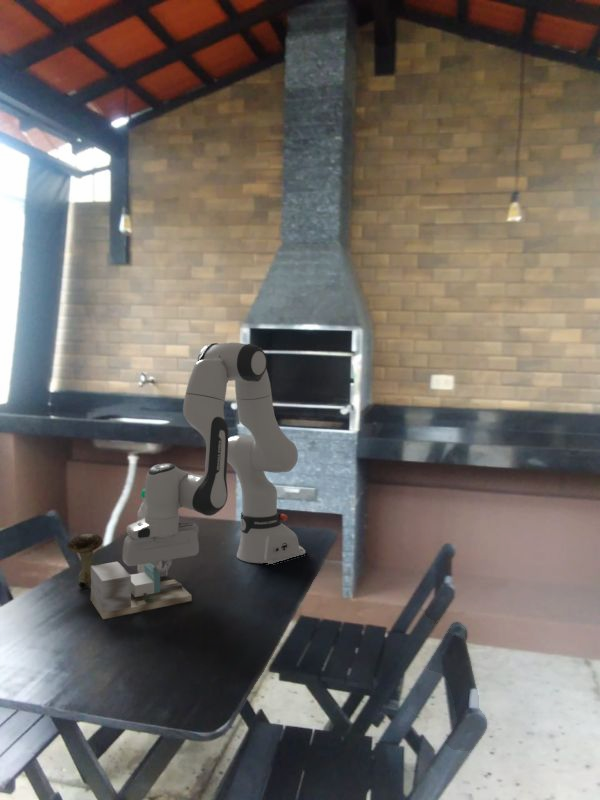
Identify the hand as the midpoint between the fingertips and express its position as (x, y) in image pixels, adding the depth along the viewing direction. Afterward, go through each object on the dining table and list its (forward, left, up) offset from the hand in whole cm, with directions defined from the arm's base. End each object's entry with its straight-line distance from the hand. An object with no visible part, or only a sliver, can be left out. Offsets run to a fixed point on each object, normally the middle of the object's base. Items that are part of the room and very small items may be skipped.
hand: (161, 576), depth 167 cm
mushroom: (+16, -16, -6) cm, 24 cm away
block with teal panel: (+5, +1, -3) cm, 6 cm away
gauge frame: (+5, 0, -6) cm, 8 cm away
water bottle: (-3, -19, -6) cm, 20 cm away
